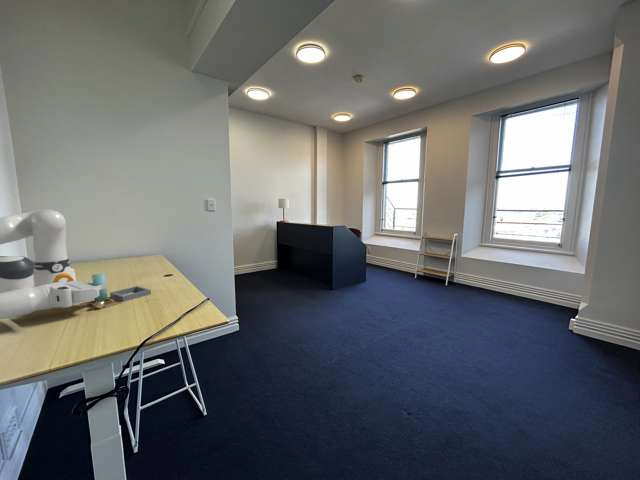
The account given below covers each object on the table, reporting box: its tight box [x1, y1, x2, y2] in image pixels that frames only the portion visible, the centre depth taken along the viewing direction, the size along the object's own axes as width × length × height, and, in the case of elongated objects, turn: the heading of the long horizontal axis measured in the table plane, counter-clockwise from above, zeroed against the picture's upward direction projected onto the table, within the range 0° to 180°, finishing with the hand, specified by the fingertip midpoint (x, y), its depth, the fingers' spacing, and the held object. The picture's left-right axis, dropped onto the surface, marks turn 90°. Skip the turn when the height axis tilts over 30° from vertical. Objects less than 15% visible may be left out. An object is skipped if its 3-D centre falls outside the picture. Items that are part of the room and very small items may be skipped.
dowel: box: [91, 273, 108, 302], centre depth 104 cm, size 4×4×11 cm
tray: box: [109, 285, 152, 303], centre depth 115 cm, size 11×11×3 cm
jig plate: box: [80, 297, 122, 311], centre depth 105 cm, size 14×9×2 cm, turn 62°
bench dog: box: [94, 301, 106, 311], centre depth 100 cm, size 3×3×2 cm
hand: (102, 284), depth 105 cm, fingers closed on dowel, 4 cm apart
